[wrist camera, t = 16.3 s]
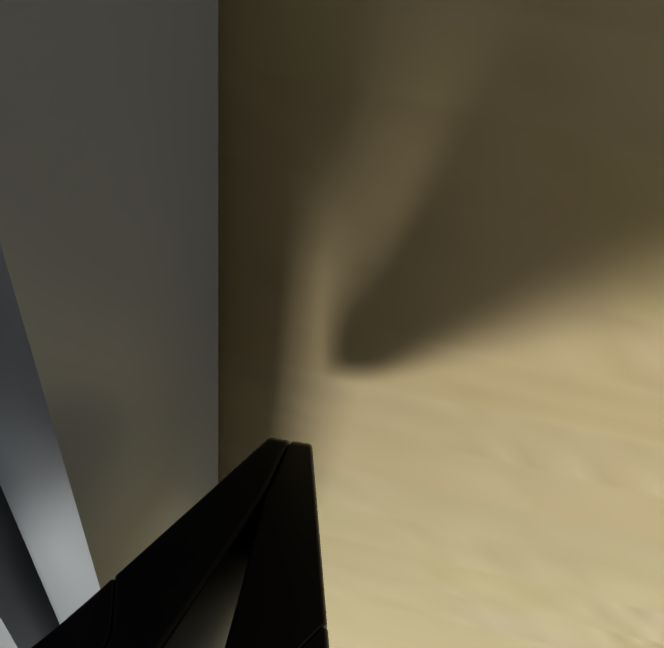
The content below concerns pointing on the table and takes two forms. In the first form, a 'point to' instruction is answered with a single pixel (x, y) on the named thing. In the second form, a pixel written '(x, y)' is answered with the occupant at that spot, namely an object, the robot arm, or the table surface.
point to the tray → (106, 278)
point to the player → (20, 589)
